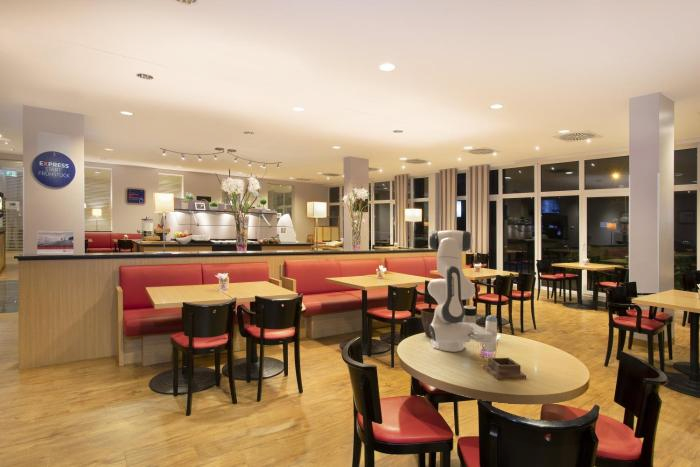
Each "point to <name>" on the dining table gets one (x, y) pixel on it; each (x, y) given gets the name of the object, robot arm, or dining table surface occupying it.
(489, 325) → the white bottle
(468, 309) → the travel mug
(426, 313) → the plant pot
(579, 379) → the dining table surface
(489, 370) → the cradle
